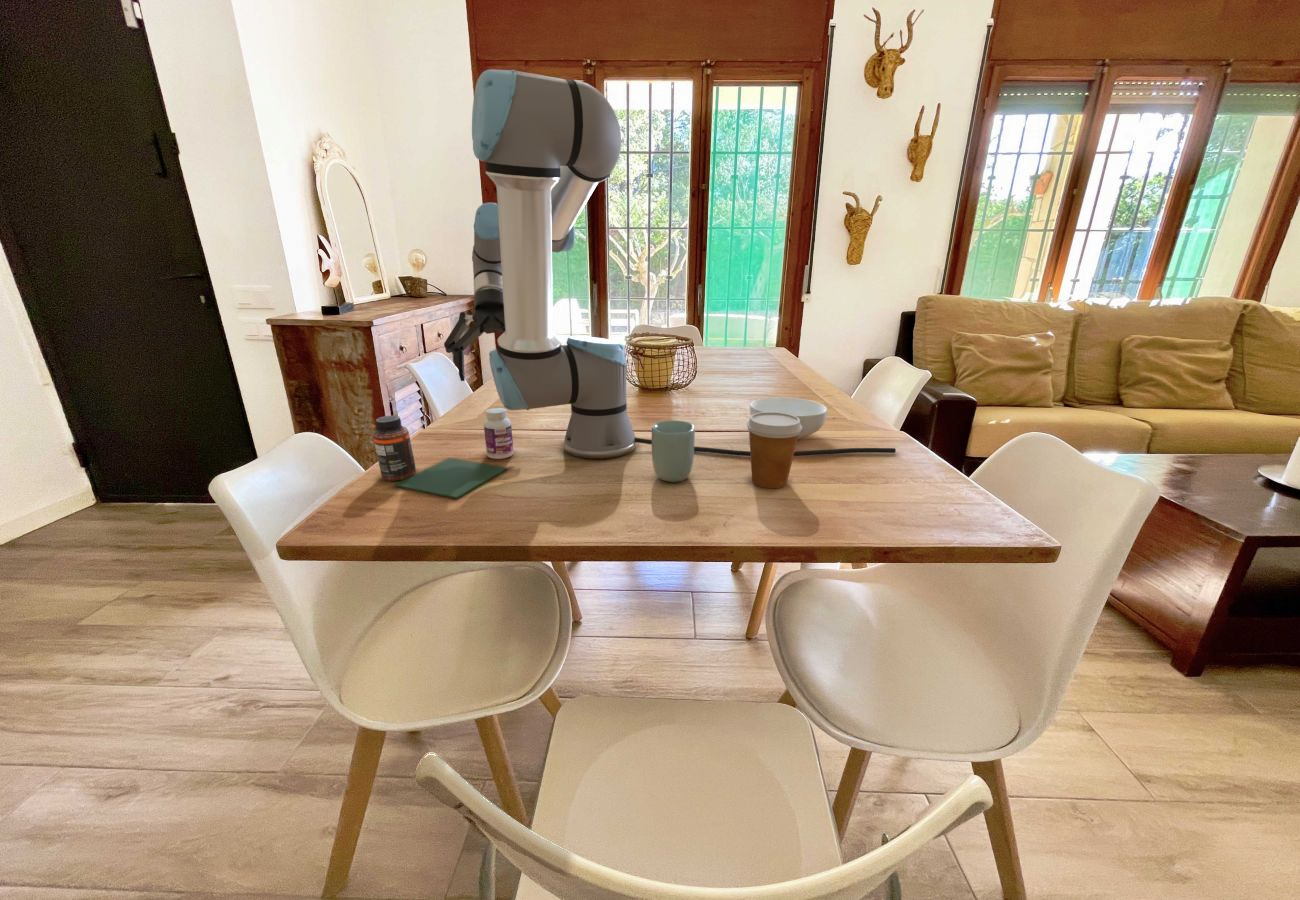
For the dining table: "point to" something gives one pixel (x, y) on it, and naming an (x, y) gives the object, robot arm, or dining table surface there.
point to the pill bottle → (498, 434)
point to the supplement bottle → (393, 449)
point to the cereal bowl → (794, 411)
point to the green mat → (451, 478)
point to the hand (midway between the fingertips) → (495, 376)
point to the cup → (673, 449)
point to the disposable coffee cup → (772, 447)
